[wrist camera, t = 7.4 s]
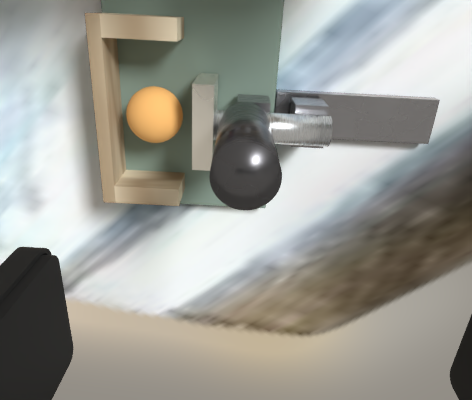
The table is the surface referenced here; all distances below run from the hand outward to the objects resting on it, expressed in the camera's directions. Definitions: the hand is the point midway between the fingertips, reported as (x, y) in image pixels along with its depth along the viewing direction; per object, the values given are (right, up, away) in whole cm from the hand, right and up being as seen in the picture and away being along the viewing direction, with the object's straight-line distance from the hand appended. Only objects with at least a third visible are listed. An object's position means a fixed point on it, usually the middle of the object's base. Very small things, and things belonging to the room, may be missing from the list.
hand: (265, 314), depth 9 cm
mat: (-4, +9, +19) cm, 21 cm away
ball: (-6, +8, +16) cm, 19 cm away
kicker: (+1, +8, +18) cm, 20 cm away
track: (+7, +8, +19) cm, 22 cm away
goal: (-7, +9, +18) cm, 21 cm away
